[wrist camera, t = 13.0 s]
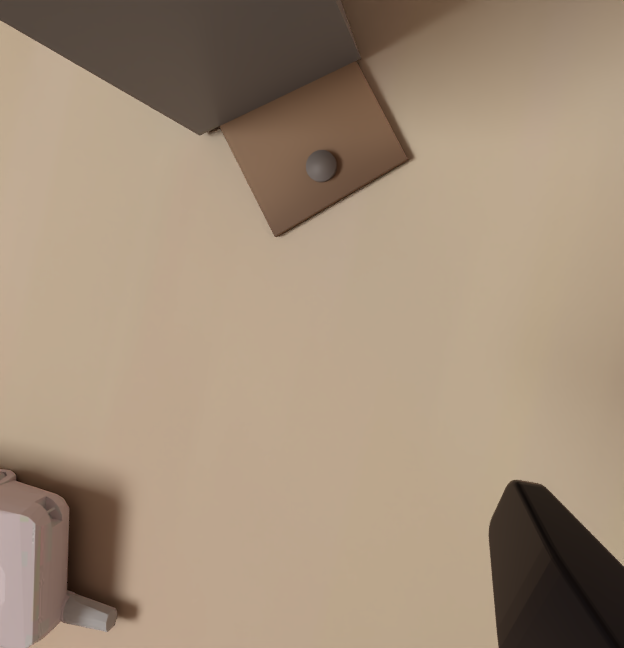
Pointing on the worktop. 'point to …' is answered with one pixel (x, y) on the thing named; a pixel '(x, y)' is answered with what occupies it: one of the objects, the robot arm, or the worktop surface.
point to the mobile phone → (38, 568)
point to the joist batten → (313, 146)
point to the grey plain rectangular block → (194, 49)
